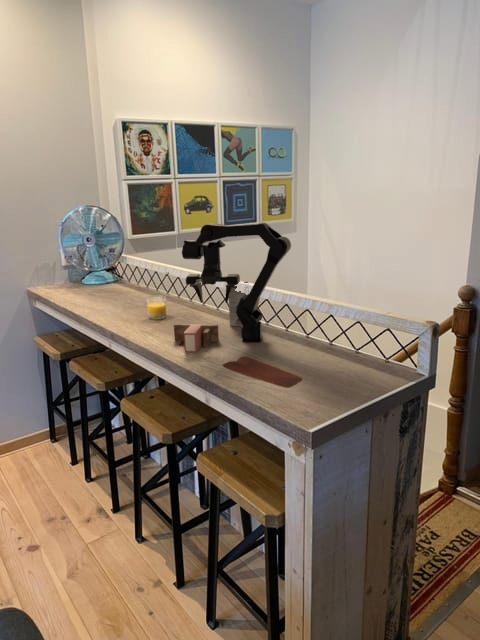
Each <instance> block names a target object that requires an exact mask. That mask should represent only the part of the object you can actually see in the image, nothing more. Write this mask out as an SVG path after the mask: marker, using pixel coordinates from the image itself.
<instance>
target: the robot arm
mask: <svg viewBox="0 0 480 640" xmlns="http://www.w3.org/2000/svg"><path fill="white" fill-rule="evenodd" d="M199 232H200V234H199V236H198V237H197V239H196V240H194V239H193V240H191V239H185V240H184V241H183V246H182V249H181V255H182V258H183V259H184V260H201V259H202V258H203V270H202V272H201V274H200V273H190V274H189V275H187V276H186V277H185V284H186V285H189V287H190V288H191V287H192V288H193V289H194V291H195V292H196V294H197V297H198V299H199V302H200V303H201V304H202V303H203V299H204V297H203V288H202V285H204V286H205V285H212V286H213V285H215V284H216V283H217V282H218V283H226V284H225V303H226V304H227V303H229V295H230V292H231V289H232V287H234V286H235V285H237V284H238V283H239V282H241V276H240V274H238V273H228V274H227V276H223V273H222V270H221V264H222V263H221V251H220V250H221V248H224V247H226V244H225V243H224V242H223V241H222V239H223V238H230V237H232V238H233V237H234V238H235V237H248V236H259V237H260V238H261V239H262V241H263V242H264V243H265V244H266V246H268V247H269V248H268V252H267V256H266V257H267V258H266V261H265V263H264V264H263V266H262V268H261V270H260V272H259V274H258V276H257V277H256V280H255V281H254V283H253V284H252V285H253V286H252V288H251V290H250V291H249V292H248V296H247V295H246V294H245V295H244V296H243V297H242V298H241V299H240V301H239V304H238V306H236V308H237V310H236V314H237V317H238V318H239V319H240V320H241V323H242V325H243V326H241V328H240V329H241V339H242V340H241V341H242V342H244V343H245V342H246V343H247V342H248V343H261V342H262V338H263V335H262V318H263V316H264V315H263V313H262V312H261V311H260V310H259V309H258V307H259V305H260V304H259V303H260V298H261V297H262V294H263V292H264V291H265V289H266V287H267V285H268V283H269V282H270V279H271V277H272V276H273V273H274V272H275V270H276V268H277V266H278V264H280V262H281V261H282V260H283V259H284V257H285V256H286V255H287V254H288V253H289V251H290V250H291V248H292V242H291V240H290V239H289V238H288V237H286V236H282V234H281V233H279V232H278V231H276V230H275V229H273V228H272V227H271V226H269V224H268V223H267V222H260V223H246V224H231V225H230V224H229V225H228V224H223V223H217V222H210V223H207V224H204V225H203V226H202V227H201V229H200V231H199ZM205 243H207V244H205Z"/></svg>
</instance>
